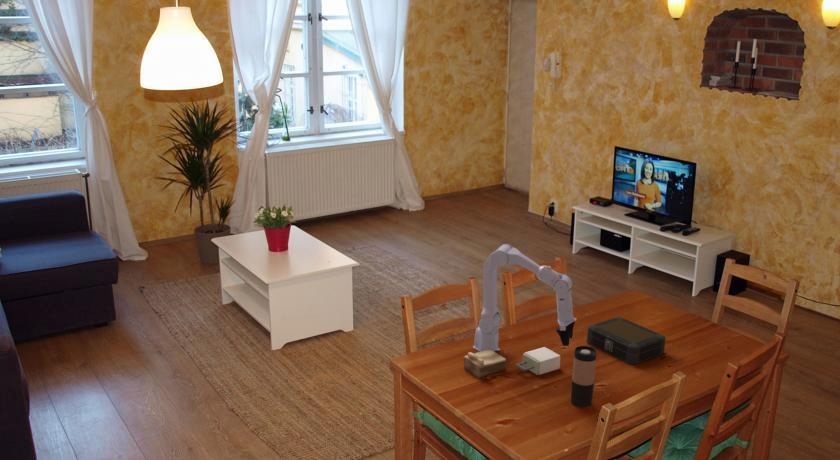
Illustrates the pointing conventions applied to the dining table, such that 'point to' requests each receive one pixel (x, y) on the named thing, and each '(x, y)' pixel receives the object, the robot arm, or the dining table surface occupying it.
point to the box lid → (484, 358)
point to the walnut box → (485, 370)
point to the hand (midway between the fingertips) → (567, 341)
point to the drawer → (529, 364)
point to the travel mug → (583, 376)
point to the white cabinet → (545, 359)
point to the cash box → (626, 340)
